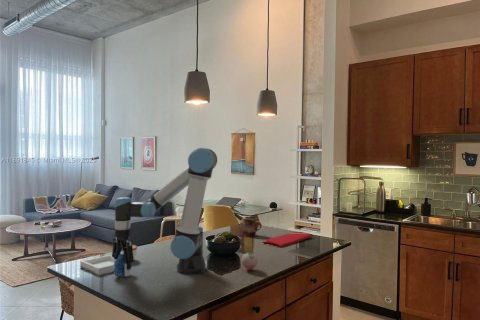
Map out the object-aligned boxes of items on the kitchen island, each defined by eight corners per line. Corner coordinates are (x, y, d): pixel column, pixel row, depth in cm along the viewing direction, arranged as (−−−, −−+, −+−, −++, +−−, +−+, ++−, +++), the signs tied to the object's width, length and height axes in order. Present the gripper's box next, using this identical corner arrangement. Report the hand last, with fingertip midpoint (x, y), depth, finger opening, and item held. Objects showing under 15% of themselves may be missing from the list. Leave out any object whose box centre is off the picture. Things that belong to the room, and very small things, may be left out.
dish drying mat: (261, 244, 248) (261, 239, 248) (295, 235, 278) (295, 230, 278) (280, 248, 237) (280, 242, 237) (312, 238, 267) (312, 233, 267)
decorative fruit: (238, 268, 192) (239, 249, 192) (252, 266, 195) (253, 248, 195) (245, 273, 183) (245, 254, 183) (259, 272, 186) (260, 252, 186)
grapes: (127, 271, 185) (127, 248, 185) (136, 273, 182) (136, 250, 182) (108, 277, 176) (108, 252, 176) (116, 280, 172) (117, 255, 172)
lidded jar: (131, 263, 198) (131, 246, 198) (113, 262, 200) (113, 245, 200) (140, 258, 209) (140, 242, 209) (123, 257, 211) (123, 241, 211)
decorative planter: (266, 236, 272) (266, 217, 272) (257, 239, 262) (257, 220, 262) (244, 232, 283) (244, 215, 283) (235, 235, 273) (235, 217, 273)
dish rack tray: (128, 267, 191) (128, 261, 191) (98, 275, 178) (98, 268, 178) (109, 260, 203) (109, 254, 203) (80, 267, 190) (80, 261, 190)
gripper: (141, 230, 175) (141, 276, 175) (118, 224, 188) (117, 267, 188) (128, 232, 169) (127, 280, 169) (104, 226, 182) (104, 271, 183)
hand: (122, 273), depth 179 cm, fingers open, 8 cm apart
